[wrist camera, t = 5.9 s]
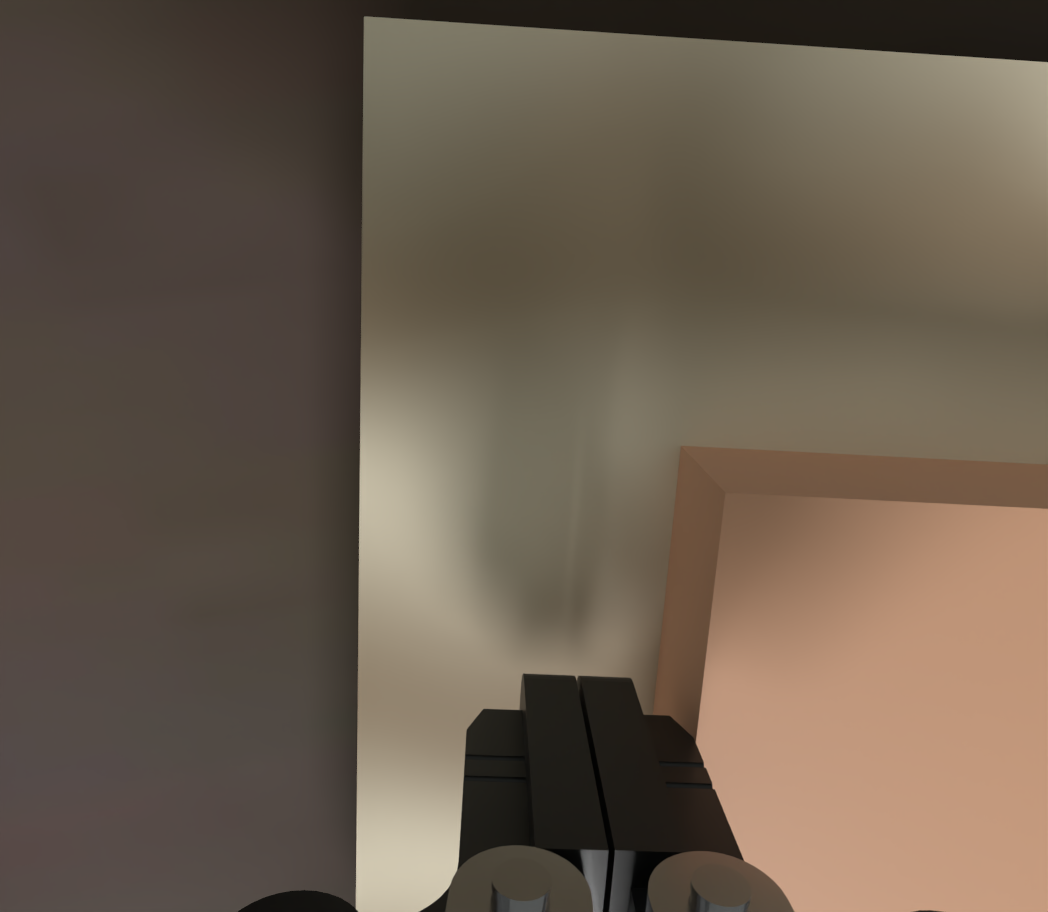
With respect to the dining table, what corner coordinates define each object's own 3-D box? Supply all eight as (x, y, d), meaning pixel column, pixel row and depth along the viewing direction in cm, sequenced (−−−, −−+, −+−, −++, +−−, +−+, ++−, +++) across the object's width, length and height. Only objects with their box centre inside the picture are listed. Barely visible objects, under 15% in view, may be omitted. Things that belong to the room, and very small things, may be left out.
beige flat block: (399, 79, 15) (364, 16, 11) (1176, 129, 15) (1410, 86, 11) (383, 945, 19) (353, 1126, 15) (994, 958, 19) (1119, 1135, 16)
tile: (680, 445, 12) (725, 493, 10) (1278, 476, 13) (1465, 530, 10) (637, 861, 14) (666, 990, 11) (1168, 878, 14) (1305, 1006, 12)
